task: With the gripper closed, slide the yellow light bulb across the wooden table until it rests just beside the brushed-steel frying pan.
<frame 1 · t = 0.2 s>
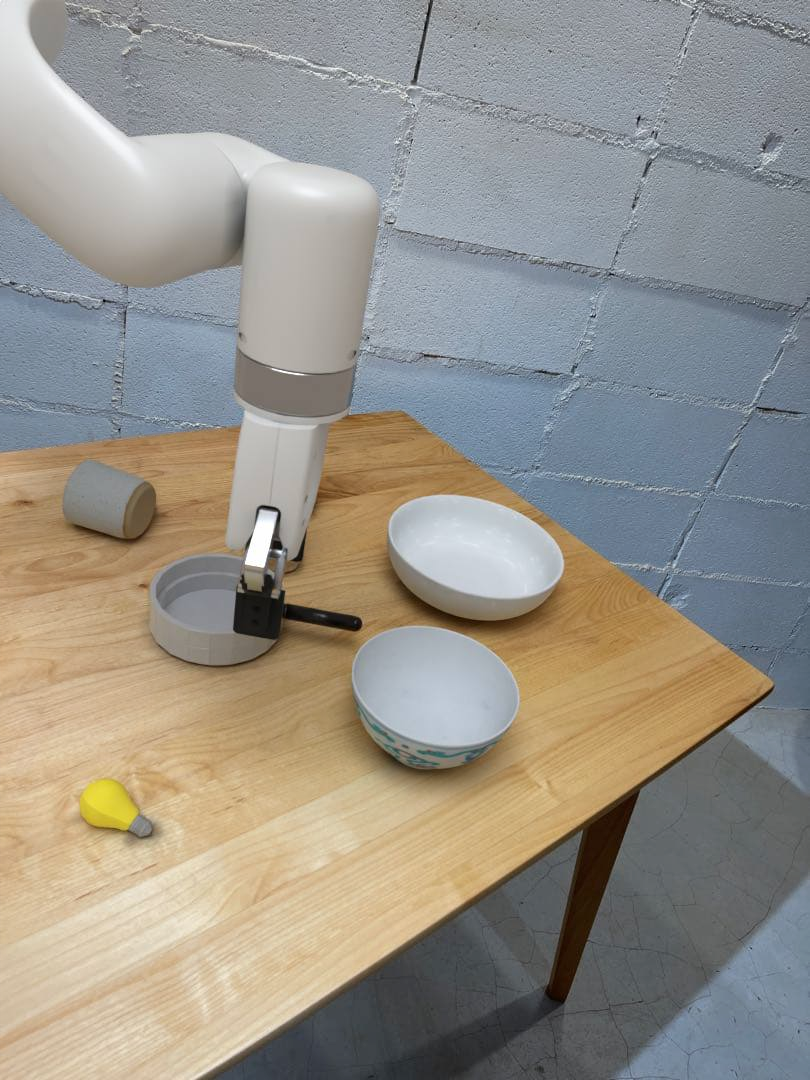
hand: (270, 593, 61), 18 cm above the table, tool pointing down, fingers open, 9 cm apart
serving bowl: (463, 589, 98), on the table
chinaware: (419, 743, 76), on the table
ceramic mug: (115, 523, 96), on the table
wine bottle: (284, 506, 106), on the table
spice jar: (279, 564, 95), on the table
light bulb: (117, 824, 63), on the table
pan handle: (320, 617, 83), point 3 cm above the table
pan: (216, 625, 84), on the table
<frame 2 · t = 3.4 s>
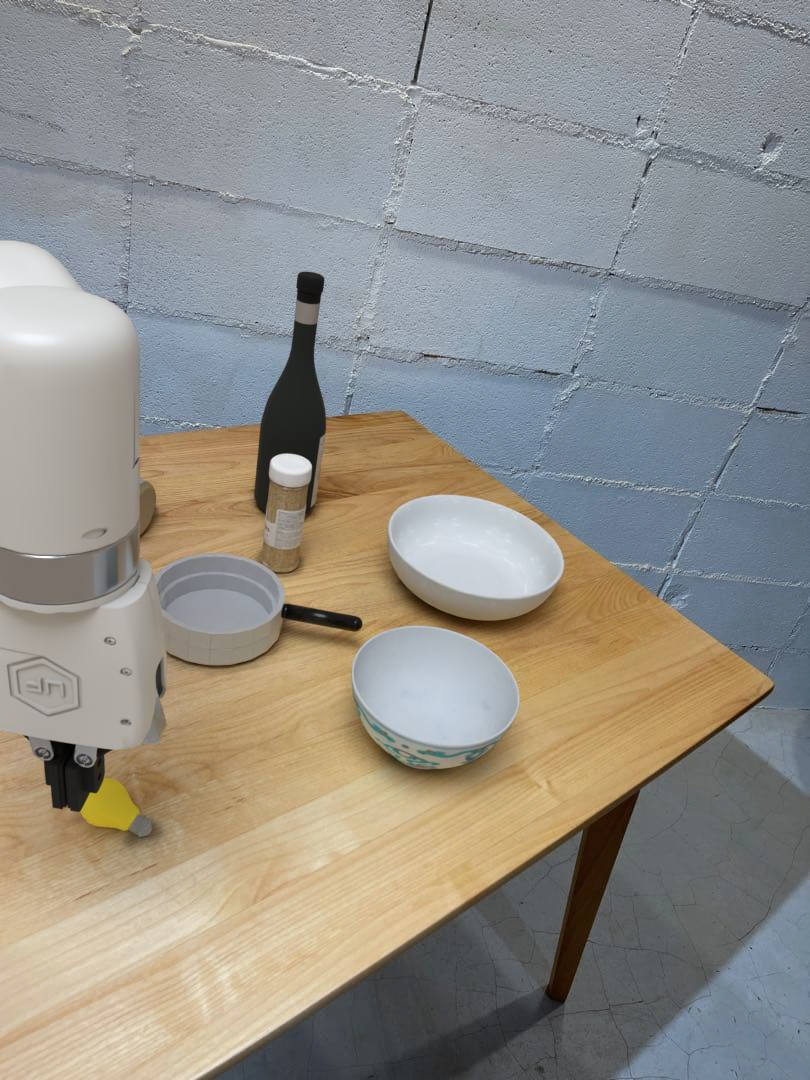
hand: (76, 791, 50), 12 cm above the table, tool pointing down, fingers closed
nothing on the table moved.
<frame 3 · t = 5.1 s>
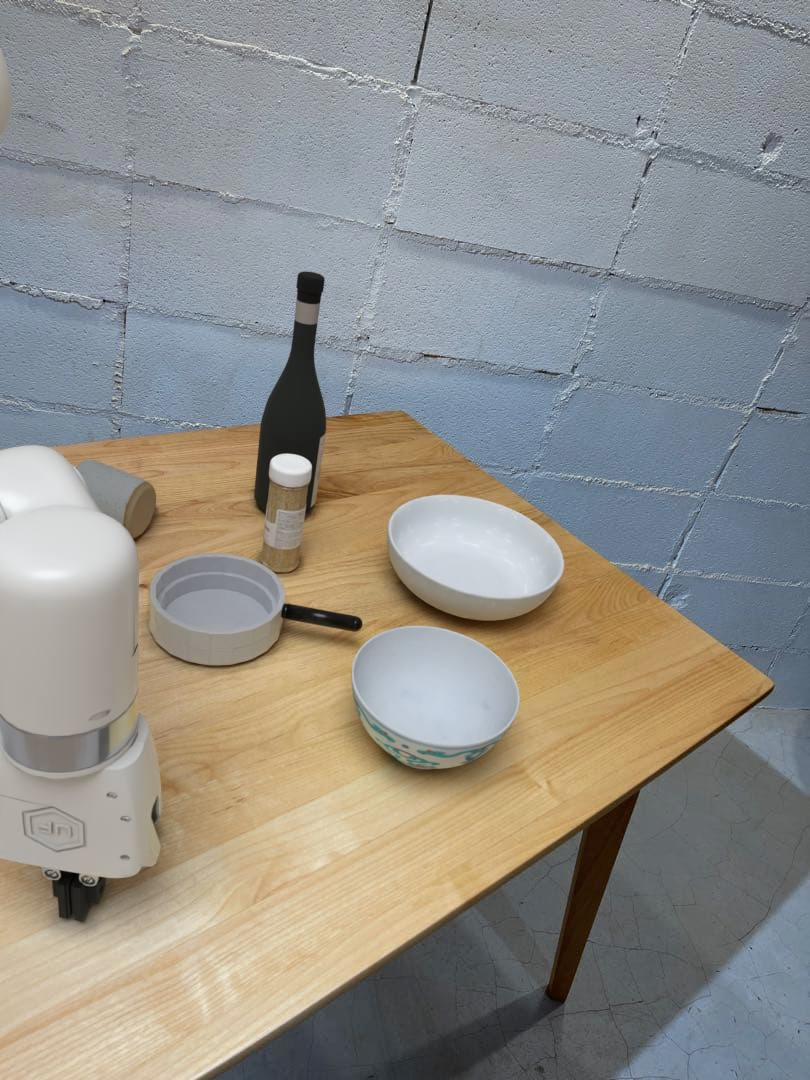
hand: (80, 900, 57), 1 cm above the table, tool pointing down, fingers closed
nothing on the table moved.
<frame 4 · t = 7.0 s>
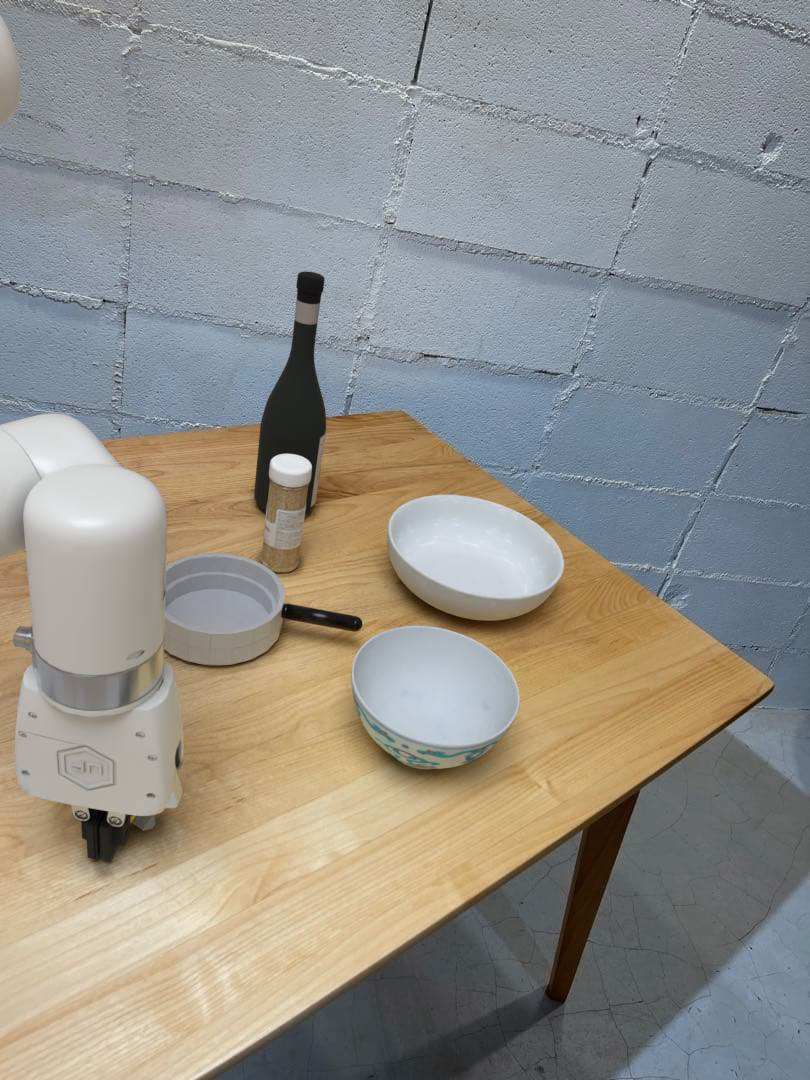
hand: (106, 843, 61), 1 cm above the table, tool pointing down, fingers closed
light bulb: (121, 817, 63), on the table, touching gripper
everything else where it was.
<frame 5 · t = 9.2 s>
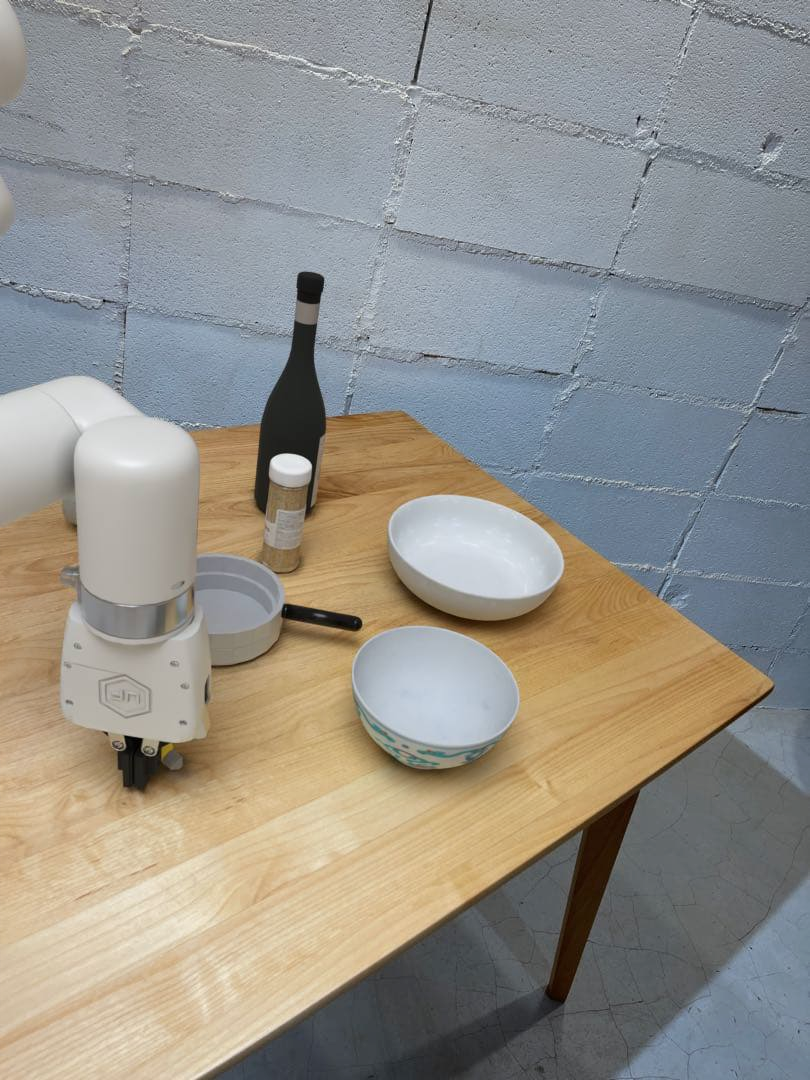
hand: (139, 775, 66), 1 cm above the table, tool pointing down, fingers closed
light bulb: (153, 757, 69), on the table, touching gripper
everything else where it was.
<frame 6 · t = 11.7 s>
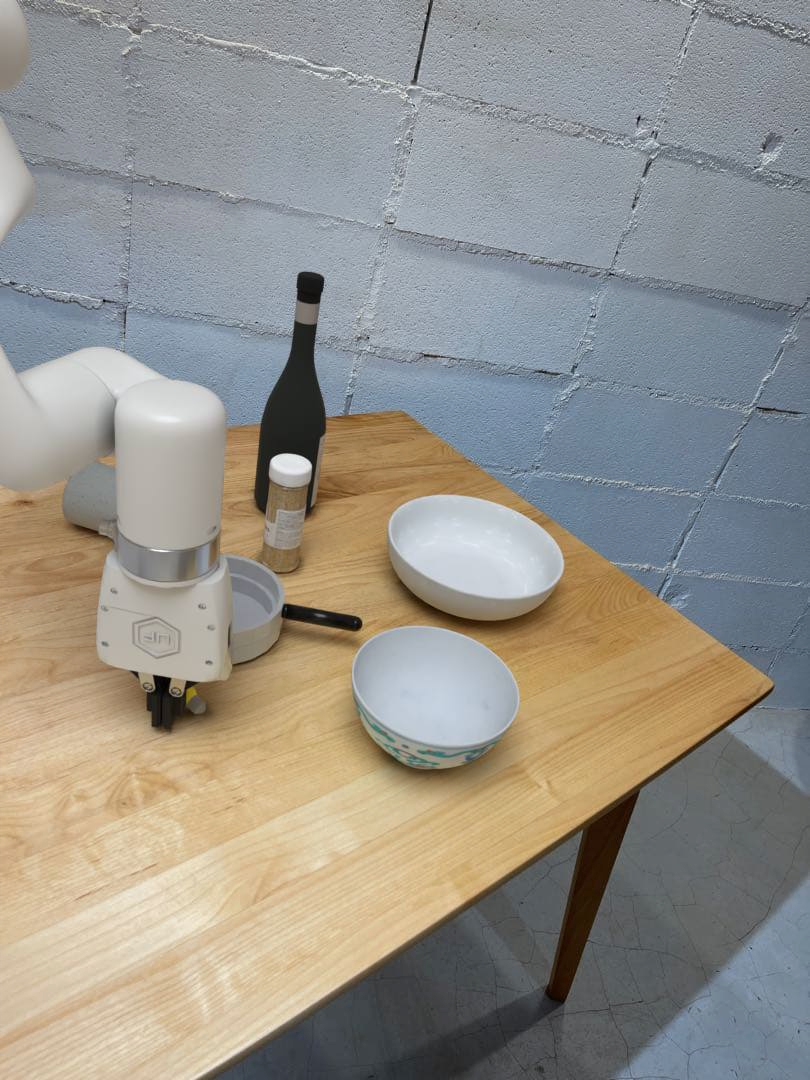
hand: (166, 716, 71), 1 cm above the table, tool pointing down, fingers closed
light bulb: (178, 702, 74), on the table, touching gripper
everything else where it was.
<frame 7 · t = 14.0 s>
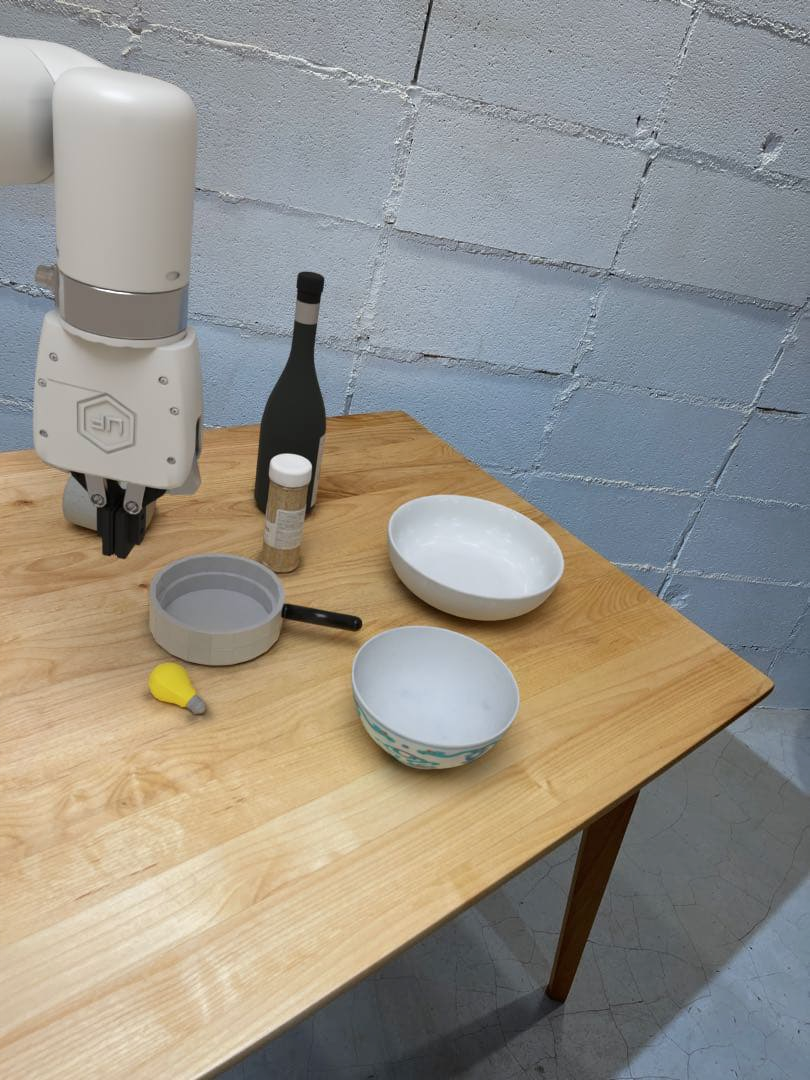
hand: (121, 546, 60), 20 cm above the table, tool pointing down, fingers closed
light bulb: (178, 702, 74), on the table
everything else where it was.
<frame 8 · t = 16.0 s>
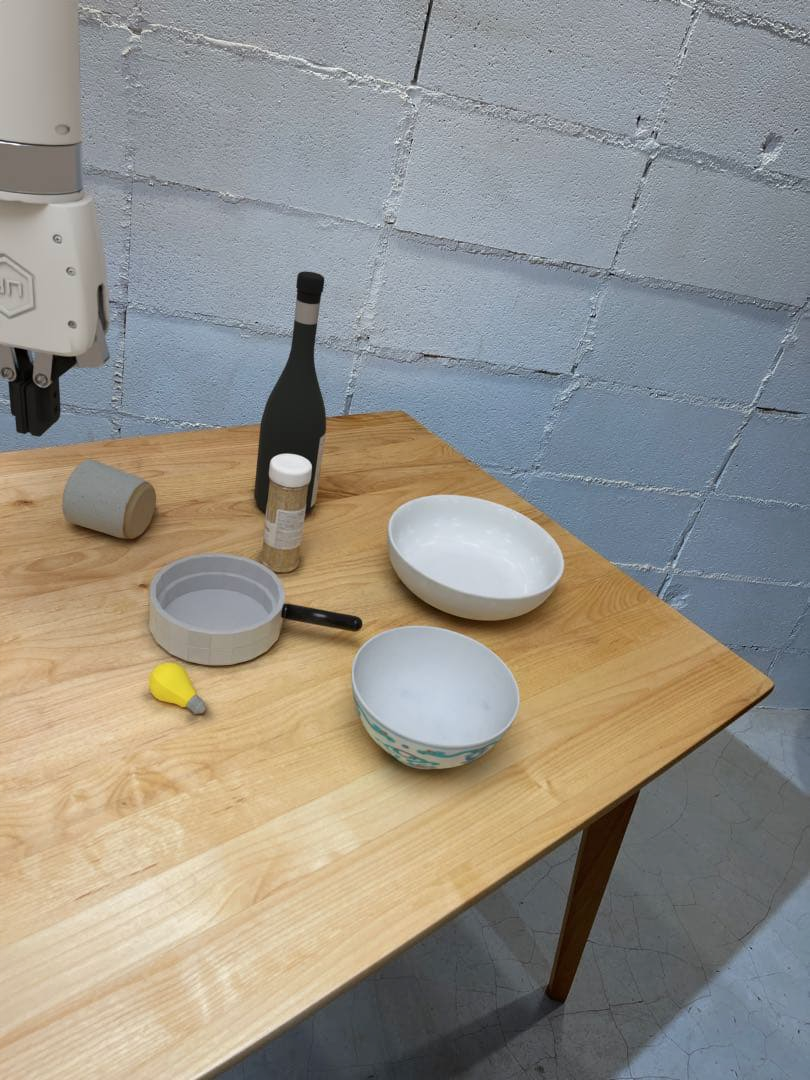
hand: (37, 427, 61), 25 cm above the table, tool pointing down, fingers closed
nothing on the table moved.
at the end: light bulb inside the target area on the table beside the pan (0.4 cm from its centre), on the table; light bulb moved 13.6 cm from its start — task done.
